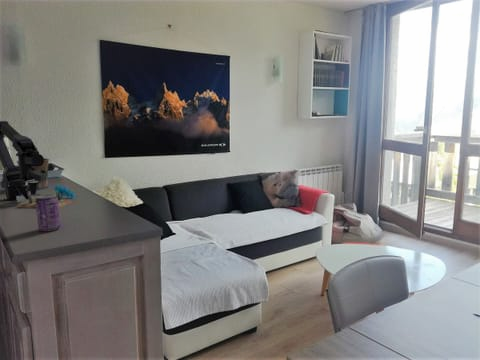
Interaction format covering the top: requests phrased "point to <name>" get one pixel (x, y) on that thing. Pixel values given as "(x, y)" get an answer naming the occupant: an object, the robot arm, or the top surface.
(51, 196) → the beverage can
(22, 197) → the ball knob lever
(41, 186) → the plant pot
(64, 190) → the gear
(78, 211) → the top surface
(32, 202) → the peg rack
